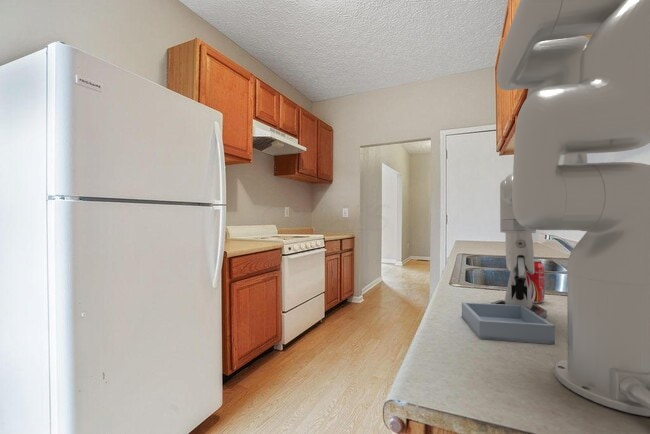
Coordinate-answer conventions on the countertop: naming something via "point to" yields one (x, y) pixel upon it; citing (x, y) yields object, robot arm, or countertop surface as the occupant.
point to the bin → (507, 323)
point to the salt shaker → (514, 301)
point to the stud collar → (535, 308)
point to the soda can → (536, 282)
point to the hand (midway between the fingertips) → (518, 299)
